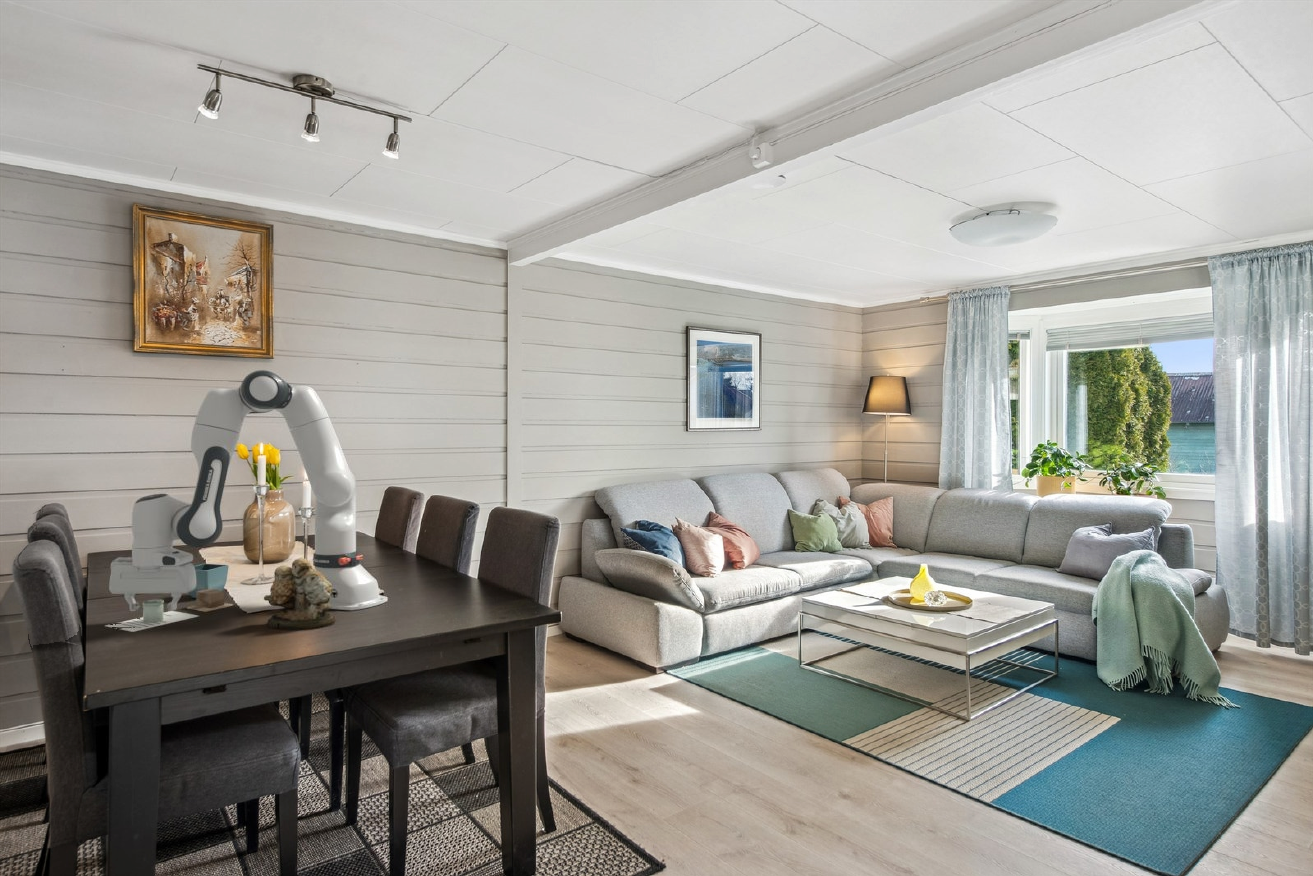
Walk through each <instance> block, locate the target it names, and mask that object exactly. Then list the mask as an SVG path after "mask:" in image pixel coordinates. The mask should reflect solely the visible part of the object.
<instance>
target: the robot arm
mask: <svg viewBox="0 0 1313 876" xmlns="http://www.w3.org/2000/svg"><path fill="white" fill-rule="evenodd" d="M272 411H276V412H279V413H280V414H281V415H282V417H283V418H284V420H285V422H286V425H287V427H288V429H289V432H290V435H291V436H292V439H293V442H294V443H295V446H296V449H297V451H298V454H299V456H300V458H301V462H302V464H303V468H304V471H305V473H306V476H307V479H308V482H309V485H310V487H311V490H312V492H313V495H314V497H315V516H314V553H313V557H312V564H313V565H312V566H313V567H314V569H316V571H319V572H321V573H322V575H323V576H324V577H325V579H326V580H327V581H329V582H330V583H331V585H332V586H331V588H332V590H331V591H332V593H331V596H330V599H329V602H328V604H330V605H331V609H330V610H341V611H342V610H343V611H357V610H362V609H367V608H371V607H375V606H378V605H381V604H384V603H386V602H388V597H387V596H384V595H381V594H380V592H379V584H378V580H377V579H376V578H375V577H374V576H372V574H371V573H369V571H367V570H366V569H365V568H364V567H363V566H362V564H361V563H362V561H361V560H363V559H364V558H363V556H364V555H363V554H360V555H359V553H358V552H359V551H358V550H357V480H356V477H355V475H354V474H353V472H352V471H351V470H350V467H349V465H348V461H347V460H346V457H345V454H344V451H343V449H342V446H341V443H340V441H339V438H338V435H337V434H336V433H337V432H336V430H335V428H334V426H333V423H332V421H331V418H330V416H329V413H328V411H327V409H326V408H325V405H324V403H323V401H322V400H321V398H320V396H319V395H318V394H317V392H316V391H315V390H314V388H312V387H311V386H308V385H296V386H292V385H290V384H289V383H288V382H287V381H285V380H284V379H283V378H281V377H280V376H279V375H278V374H276V373H275V372H272V371H269V370H266V369H263V370H255V371H252V372H250V373H249V374H247V375H246V376H245V378H244V379H243V380H242V382H241V384H240V386H239V387H237V388H236V389H229V388H224V387H223V388H222V387H220V388H214V389H211V390H209V391H208V392H207V394H206V395H205V397H204V399H203V400H202V402H201V405H200V408H199V410H198V412H197V415H196V417H195V420H194V424H193V428H192V430H191V436H190V437H191V440H190V449H191V452H192V453H193V455H194V457H195V459H196V462H197V467H198V475H197V480H196V484H195V489H194V493H193V497H192V501H191V503H188V502H185V501H182V500H180V499H177V498H175V497H173V496H170V494H167V493H156V494H155V493H154V494H150V495H146V496H143V497H140V498H138V499H137V500H136V501H135V502H134V504H133V506H132V512H131V513H132V515H131V532H132V535H133V541H132V544H131V556H128V557H122V556H119V557H117V558H115V559H113V560H112V562H111V563H110V571H111V572H110V577H109V585H108V587H109V588H108V589H109V591H110V594H113V595H115V594H117V595H118V594H119V595H121V594H123V595H124V599H125V601H126V602H127V603H128V605H129V611H131V612H132V611H133V612H134V611H138V610H139V609H140V602H136V599H135V598H134V597H135V596H136V594H137V595H138V594H171V598H172V599H171V600H172V601H170V602H169V603H167V604H166V606H167V611H176V610H177V607H178V602H179V601H180V599H181V597H182V594H189V593H188V592H191V591H193V590H194V589H195V588H196V572H195V567H194V566H195V565H194V564H193V563H191V562H192V561H193V560H194V555H193V553H190V552H187V551H183V550H180V549H177V548H174V547H173V545H174V544H173V543H174V541H175V540H176V541H177V540H180V541H181V542H183V544H185V545H186V546H189V547H191V548H204V547H207V546H210V545H212V544H214V542H216V541H217V540H218V538H220V536H221V534H222V531H223V526H224V525H223V519H222V518H223V517H222V514H221V503H222V499H223V494H224V490H225V484H226V480H227V475H228V470H229V468H230V464H231V461H232V457H233V455H234V452H235V450H236V446H237V445H238V444H237V443H238V441H239V437H240V434H241V430H242V426H243V422H244V421H245V419H246V417H247V415H250V414H264V413H269V412H272ZM361 557H362V558H361Z"/></svg>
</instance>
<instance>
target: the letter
mask: <svg viewBox="0 0 1313 876" xmlns="http://www.w3.org/2000/svg"><path fill="white" fill-rule="evenodd" d="M197 617H199V614H197V615H196V614H192V613H187V612H180V611H176V610H168V611H166V612H165V611H163V620H162V621H159V622H154V623H144V622H143V616H141V617H139V618H140V619H137V618H133V619H128V620H124V621H120V622H118V623H121V624H116V625H115V624H114V623H112V624H113V625H110V624H106V625H104V627H108V628H112V627H132V628H122V629H120V630H123V631H126V632H127V631H128V632H137V631H142V630H146V629H152V628H154V627H158V626H164V625H168V624H171V623H172V624H173V623H176V622H180V621H185V620H188V619H189V620H190V619H193V618H197ZM133 627H135V628H133Z"/></svg>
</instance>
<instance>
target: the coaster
mask: <svg viewBox="0 0 1313 876" xmlns="http://www.w3.org/2000/svg"><path fill="white" fill-rule="evenodd" d="M231 606H234V604H233V603H229V602H228V603H227V602H224V605H223V606H219V607H214V608H205V607H199V606H196V604H195V605H191V606H187V608H186V609H187V610H194V611H199V612H210V611H215V610H218V609H223V608H228V607H231Z"/></svg>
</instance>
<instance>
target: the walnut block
mask: <svg viewBox="0 0 1313 876" xmlns="http://www.w3.org/2000/svg"><path fill="white" fill-rule="evenodd" d="M195 600H196V602H195V603H196V604H195V605H196V606H199V607H205V608H214V607H219V606H223V605H224V603H225V590H222V591H220V590H214V589H207V590H203V591H198V592H196V598H195Z"/></svg>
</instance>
